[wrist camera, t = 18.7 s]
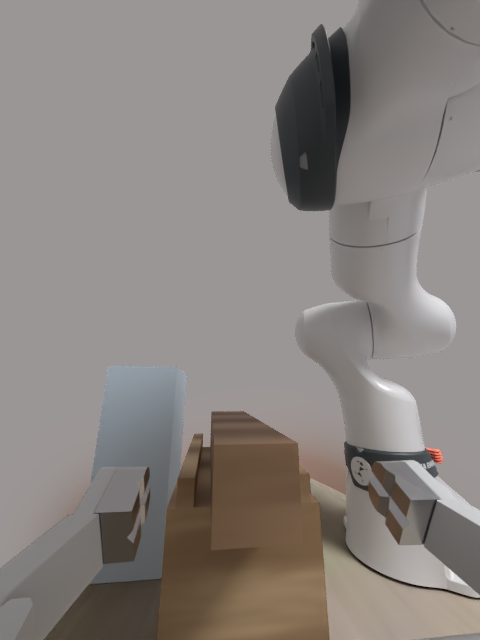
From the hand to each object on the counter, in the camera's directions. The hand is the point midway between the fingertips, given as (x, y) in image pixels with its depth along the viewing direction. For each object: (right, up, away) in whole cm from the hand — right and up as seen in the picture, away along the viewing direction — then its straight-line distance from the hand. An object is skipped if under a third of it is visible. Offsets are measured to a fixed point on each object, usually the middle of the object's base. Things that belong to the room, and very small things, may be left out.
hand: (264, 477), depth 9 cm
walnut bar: (-1, -7, +11) cm, 13 cm away
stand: (-17, -29, +29) cm, 44 cm away
